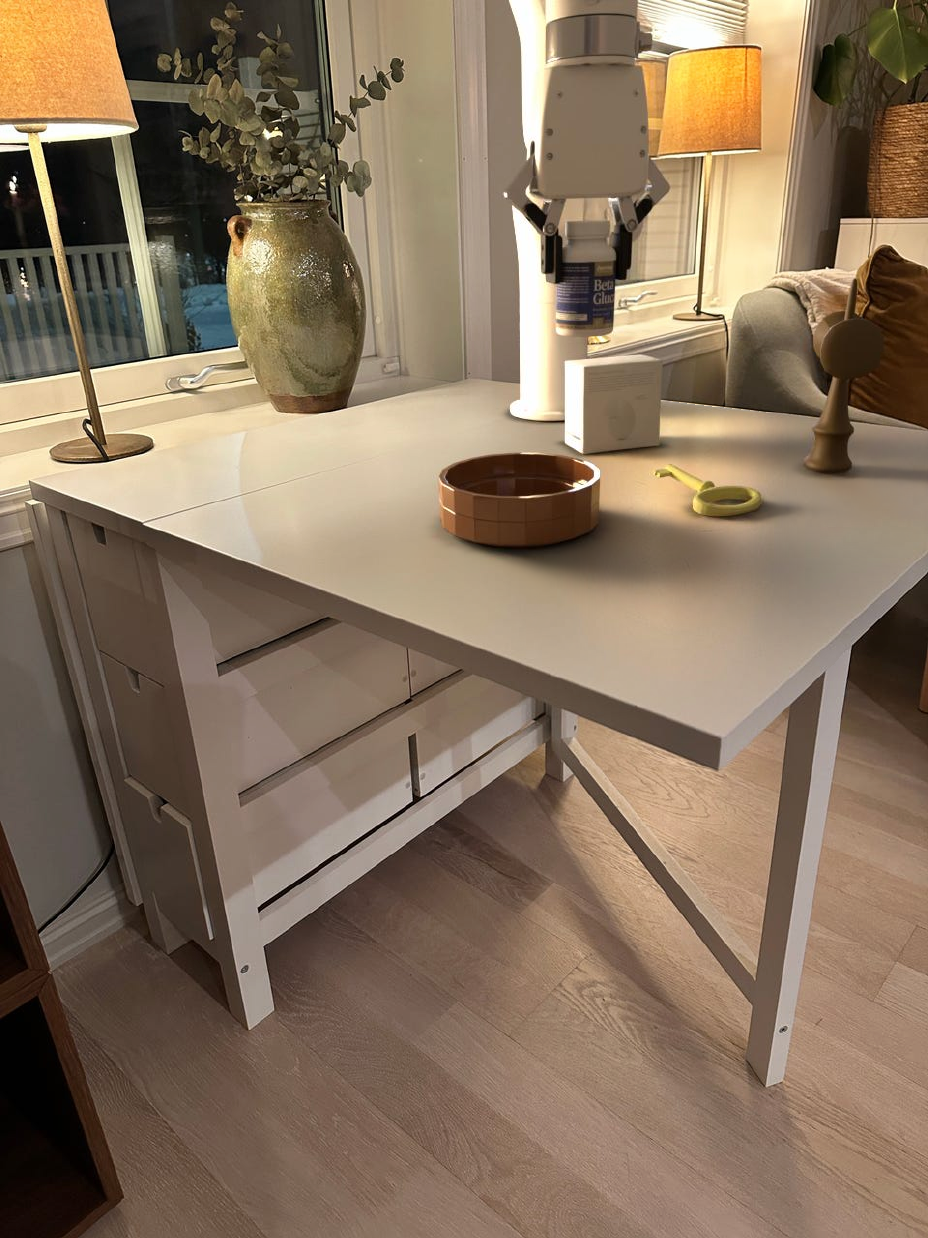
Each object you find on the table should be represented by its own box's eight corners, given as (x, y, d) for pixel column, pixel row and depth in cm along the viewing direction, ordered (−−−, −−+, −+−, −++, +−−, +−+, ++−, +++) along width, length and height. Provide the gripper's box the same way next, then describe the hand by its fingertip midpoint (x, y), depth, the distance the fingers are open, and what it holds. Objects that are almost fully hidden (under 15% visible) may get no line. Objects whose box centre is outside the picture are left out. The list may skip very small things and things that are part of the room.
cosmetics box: (637, 434, 116) (642, 351, 111) (660, 446, 110) (665, 359, 105) (562, 442, 113) (563, 358, 109) (581, 454, 108) (583, 366, 103)
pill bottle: (600, 338, 80) (603, 221, 76) (546, 336, 83) (547, 222, 79) (622, 330, 84) (626, 218, 80) (570, 328, 87) (572, 220, 83)
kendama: (803, 481, 95) (829, 282, 86) (794, 457, 103) (817, 274, 95) (863, 483, 93) (896, 282, 85) (849, 459, 102) (878, 273, 93)
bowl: (431, 506, 92) (428, 459, 89) (572, 494, 94) (573, 447, 92) (455, 558, 78) (453, 504, 76) (620, 542, 80) (622, 489, 78)
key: (666, 481, 97) (667, 462, 96) (769, 504, 88) (772, 484, 87) (625, 496, 92) (626, 477, 91) (730, 523, 84) (733, 501, 83)
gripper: (669, 55, 79) (657, 273, 86) (481, 57, 76) (486, 282, 84) (706, 41, 72) (689, 278, 80) (500, 43, 69) (504, 289, 77)
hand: (585, 278), depth 82 cm, fingers closed on pill bottle, 5 cm apart
